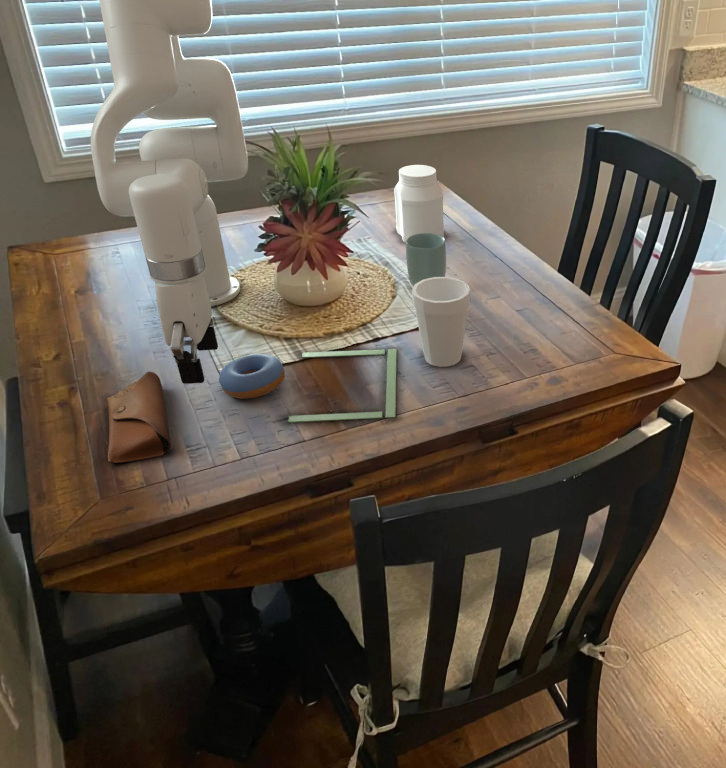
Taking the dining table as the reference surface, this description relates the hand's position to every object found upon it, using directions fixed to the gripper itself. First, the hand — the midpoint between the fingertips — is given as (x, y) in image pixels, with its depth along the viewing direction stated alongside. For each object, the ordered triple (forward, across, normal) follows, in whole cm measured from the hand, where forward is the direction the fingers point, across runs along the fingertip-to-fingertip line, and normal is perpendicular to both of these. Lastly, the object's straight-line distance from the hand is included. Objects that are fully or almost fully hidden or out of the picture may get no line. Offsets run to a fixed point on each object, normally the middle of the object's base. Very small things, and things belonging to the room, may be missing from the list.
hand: (201, 365), depth 117 cm
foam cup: (+5, -7, +38) cm, 39 cm away
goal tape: (+5, 0, +21) cm, 21 cm away
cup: (+5, -34, +36) cm, 50 cm away
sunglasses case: (+5, +8, -8) cm, 13 cm away
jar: (+4, -61, +35) cm, 71 cm away
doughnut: (+5, 0, +7) cm, 9 cm away
